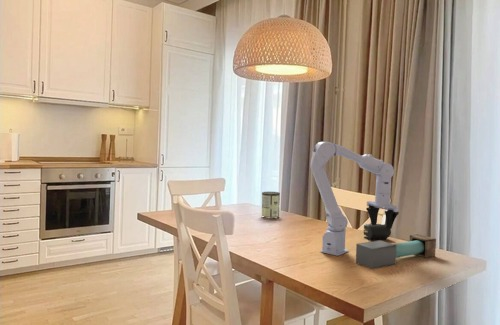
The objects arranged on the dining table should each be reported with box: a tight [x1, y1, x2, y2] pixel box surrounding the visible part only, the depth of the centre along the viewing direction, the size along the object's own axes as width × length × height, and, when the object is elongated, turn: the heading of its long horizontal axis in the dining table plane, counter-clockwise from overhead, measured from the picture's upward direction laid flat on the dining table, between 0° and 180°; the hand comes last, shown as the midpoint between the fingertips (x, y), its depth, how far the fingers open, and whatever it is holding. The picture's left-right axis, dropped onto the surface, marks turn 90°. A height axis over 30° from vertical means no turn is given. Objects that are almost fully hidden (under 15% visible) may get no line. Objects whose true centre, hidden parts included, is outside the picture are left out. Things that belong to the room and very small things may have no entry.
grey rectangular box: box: [355, 239, 397, 270], centre depth 139 cm, size 12×8×7 cm, turn 120°
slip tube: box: [393, 240, 425, 259], centre depth 146 cm, size 24×5×5 cm, turn 120°
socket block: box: [409, 233, 437, 259], centre depth 152 cm, size 5×8×7 cm, turn 30°
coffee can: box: [261, 191, 281, 219], centre depth 221 cm, size 10×10×14 cm
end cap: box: [363, 223, 392, 241], centre depth 175 cm, size 10×7×7 cm
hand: (381, 226), depth 154 cm, fingers open, 7 cm apart
